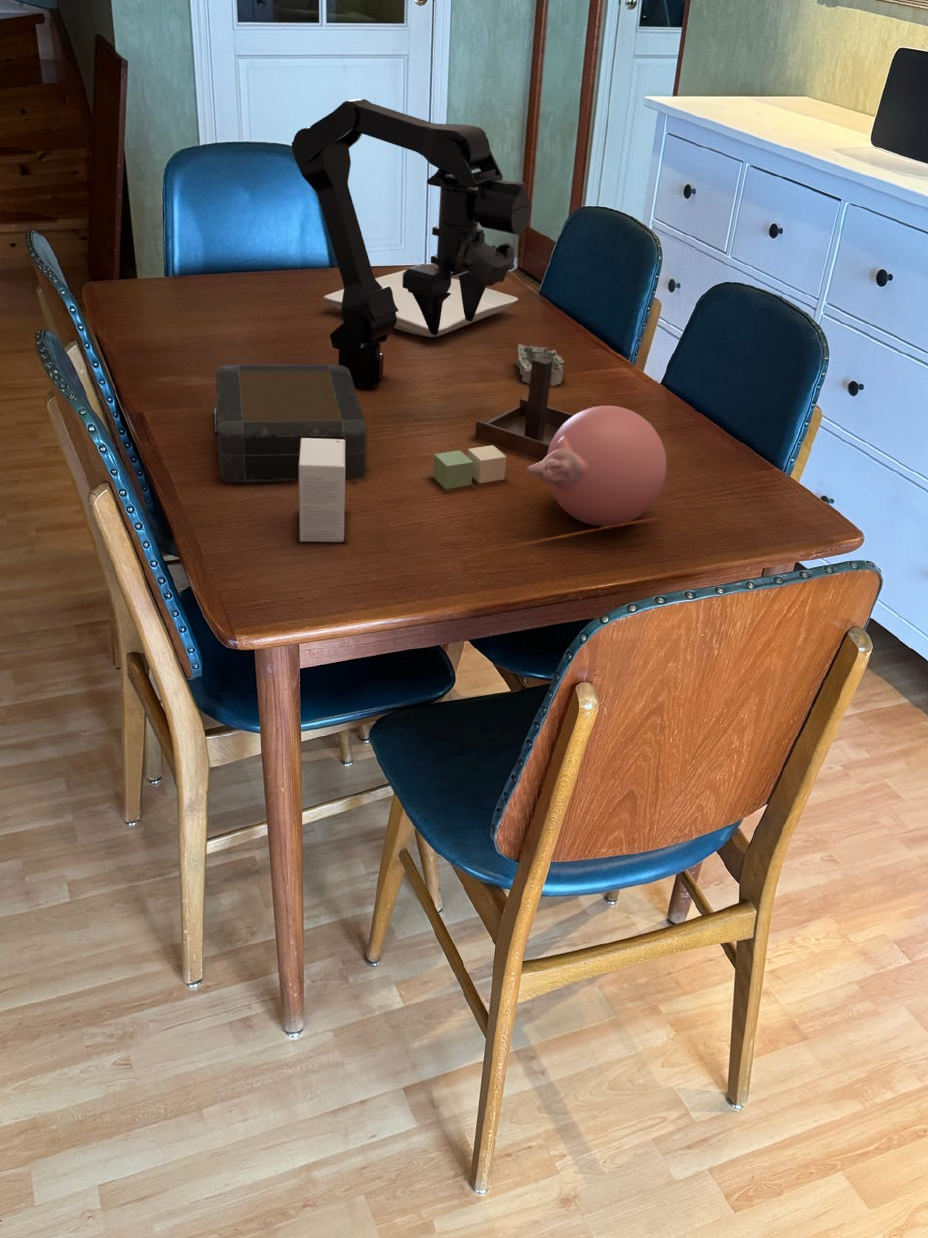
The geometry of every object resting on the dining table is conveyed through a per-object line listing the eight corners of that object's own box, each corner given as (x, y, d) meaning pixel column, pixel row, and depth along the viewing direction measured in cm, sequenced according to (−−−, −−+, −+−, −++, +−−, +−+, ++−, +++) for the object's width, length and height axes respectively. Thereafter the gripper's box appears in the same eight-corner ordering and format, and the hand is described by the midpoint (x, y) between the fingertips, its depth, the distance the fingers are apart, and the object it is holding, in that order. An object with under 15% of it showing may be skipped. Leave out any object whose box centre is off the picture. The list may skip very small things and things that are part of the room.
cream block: (467, 448, 153) (481, 460, 150) (493, 444, 155) (506, 456, 152) (465, 474, 155) (478, 486, 152) (490, 470, 157) (504, 482, 154)
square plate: (409, 284, 229) (410, 265, 227) (519, 315, 217) (521, 296, 215) (321, 312, 210) (321, 292, 208) (435, 348, 198) (437, 327, 196)
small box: (301, 512, 143) (300, 436, 137) (344, 513, 143) (345, 437, 138) (298, 542, 136) (297, 464, 130) (344, 543, 137) (345, 465, 131)
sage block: (434, 453, 151) (446, 465, 148) (460, 449, 153) (473, 461, 150) (432, 480, 153) (445, 492, 150) (458, 476, 155) (471, 488, 152)
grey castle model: (563, 387, 186) (566, 364, 184) (519, 385, 186) (521, 361, 184) (557, 364, 195) (560, 342, 193) (515, 362, 195) (517, 339, 193)
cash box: (214, 411, 168) (211, 362, 163) (348, 410, 172) (348, 362, 167) (215, 485, 147) (212, 432, 143) (367, 482, 151) (368, 429, 147)
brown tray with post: (474, 440, 166) (480, 359, 159) (519, 416, 174) (527, 339, 168) (548, 465, 160) (558, 383, 153) (591, 439, 169) (602, 360, 162)
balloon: (488, 509, 147) (498, 400, 139) (612, 485, 156) (628, 381, 147) (549, 563, 136) (564, 448, 128) (679, 535, 145) (700, 425, 136)
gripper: (467, 244, 150) (459, 355, 158) (539, 221, 163) (529, 326, 171) (402, 227, 155) (398, 336, 163) (477, 207, 168) (469, 309, 176)
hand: (451, 327), depth 168 cm, fingers open, 9 cm apart
